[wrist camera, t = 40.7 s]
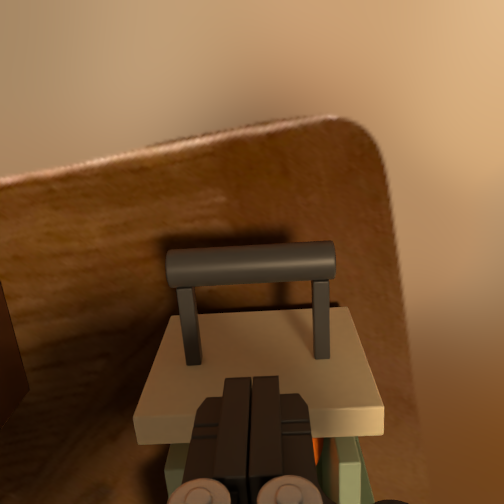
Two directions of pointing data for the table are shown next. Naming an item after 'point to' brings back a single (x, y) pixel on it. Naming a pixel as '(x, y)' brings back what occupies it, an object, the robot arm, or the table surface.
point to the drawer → (262, 357)
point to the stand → (9, 367)
